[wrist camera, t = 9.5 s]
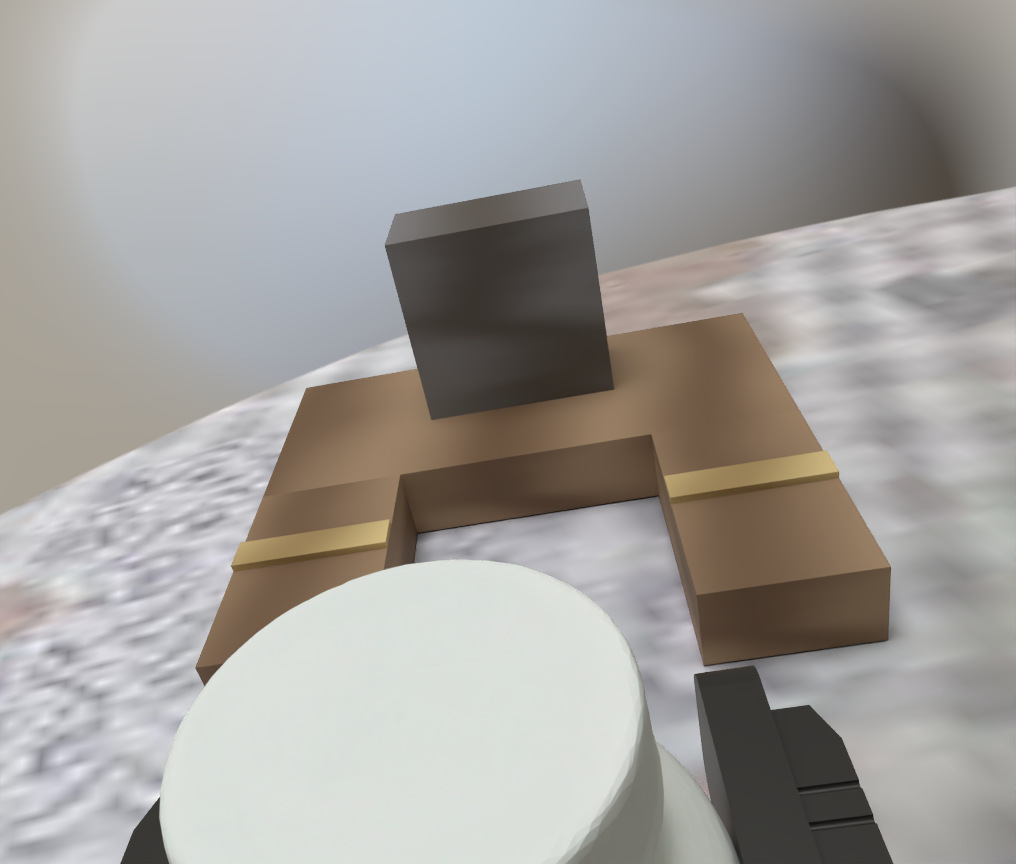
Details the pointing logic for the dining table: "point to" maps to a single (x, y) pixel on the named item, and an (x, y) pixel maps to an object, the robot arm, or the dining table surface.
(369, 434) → the brown grey u-shaped block
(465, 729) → the supplement bottle
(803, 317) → the dining table surface
